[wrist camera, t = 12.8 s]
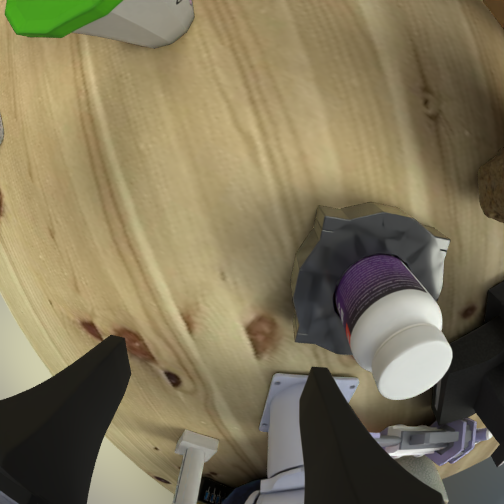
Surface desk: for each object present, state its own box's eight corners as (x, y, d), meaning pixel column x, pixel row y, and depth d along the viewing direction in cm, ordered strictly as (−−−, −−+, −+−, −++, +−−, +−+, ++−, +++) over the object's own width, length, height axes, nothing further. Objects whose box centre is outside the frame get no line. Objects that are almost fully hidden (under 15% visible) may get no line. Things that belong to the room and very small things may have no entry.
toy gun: (508, 407, 25) (468, 417, 31) (388, 398, 21) (337, 407, 28) (505, 452, 21) (464, 458, 27) (376, 476, 17) (325, 469, 23)
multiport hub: (194, 476, 35) (204, 476, 34) (241, 496, 38) (251, 495, 37) (188, 499, 31) (197, 500, 30) (237, 516, 34) (247, 516, 33)
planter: (339, 477, 33) (345, 535, 23) (396, 439, 29) (413, 507, 19) (392, 478, 35) (402, 527, 25) (445, 442, 30) (463, 495, 20)
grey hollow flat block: (400, 337, 22) (410, 356, 20) (279, 328, 22) (280, 350, 20) (445, 218, 18) (463, 230, 16) (307, 189, 18) (313, 199, 16)
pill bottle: (313, 283, 20) (339, 390, 11) (365, 225, 19) (433, 306, 10) (363, 319, 21) (402, 418, 12) (412, 269, 20) (479, 354, 11)
